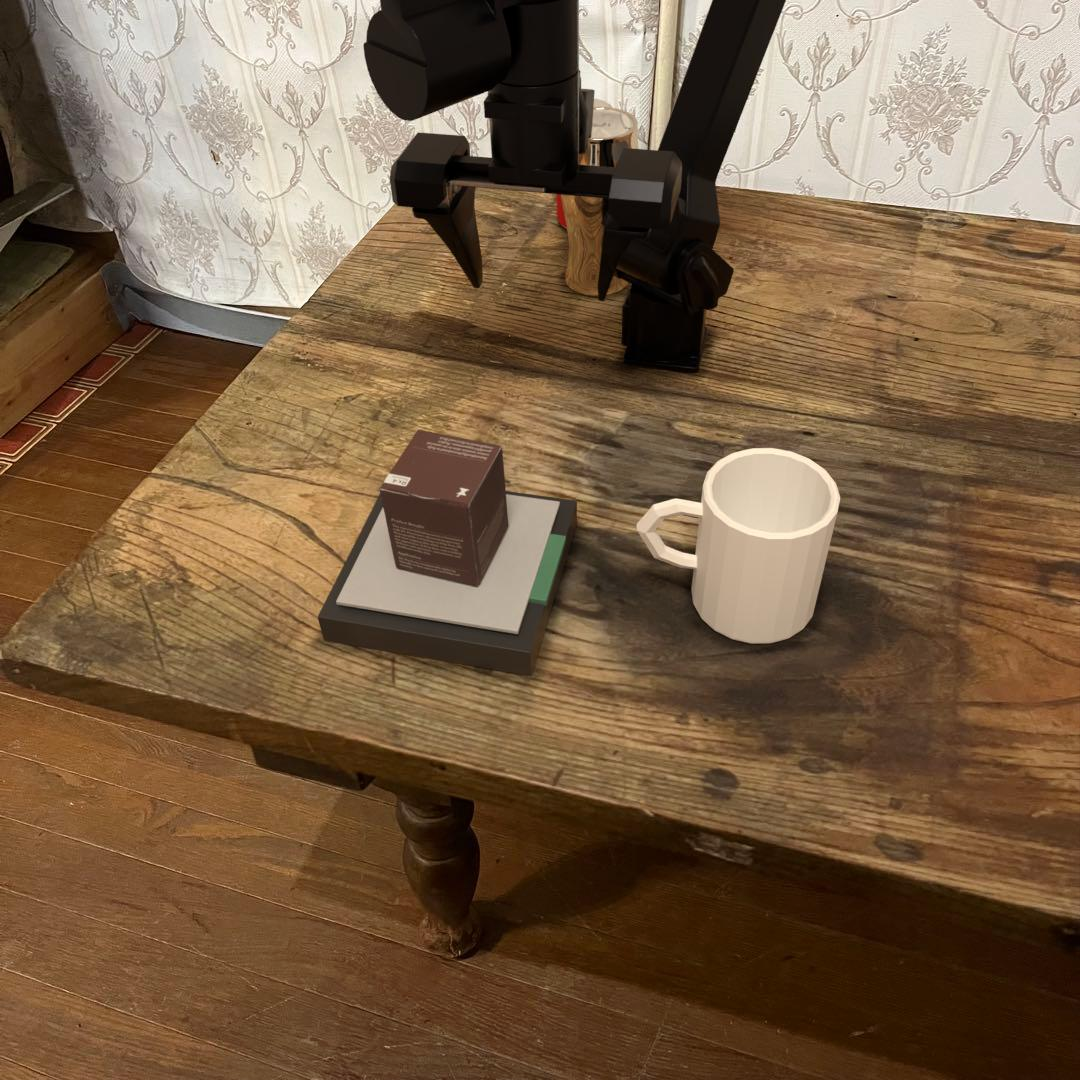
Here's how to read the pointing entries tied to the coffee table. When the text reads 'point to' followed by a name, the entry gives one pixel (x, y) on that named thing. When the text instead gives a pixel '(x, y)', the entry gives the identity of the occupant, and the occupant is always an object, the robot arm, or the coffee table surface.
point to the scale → (456, 593)
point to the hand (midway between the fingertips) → (539, 291)
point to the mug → (754, 542)
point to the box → (446, 506)
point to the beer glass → (595, 201)
